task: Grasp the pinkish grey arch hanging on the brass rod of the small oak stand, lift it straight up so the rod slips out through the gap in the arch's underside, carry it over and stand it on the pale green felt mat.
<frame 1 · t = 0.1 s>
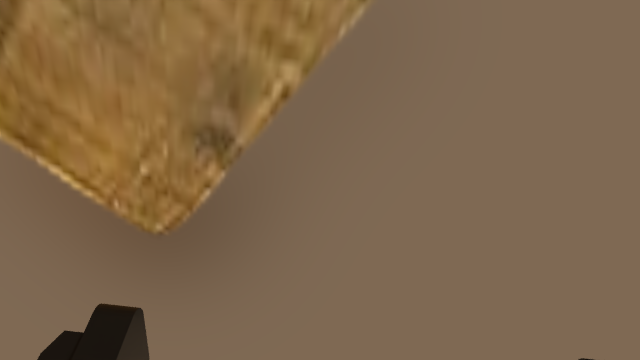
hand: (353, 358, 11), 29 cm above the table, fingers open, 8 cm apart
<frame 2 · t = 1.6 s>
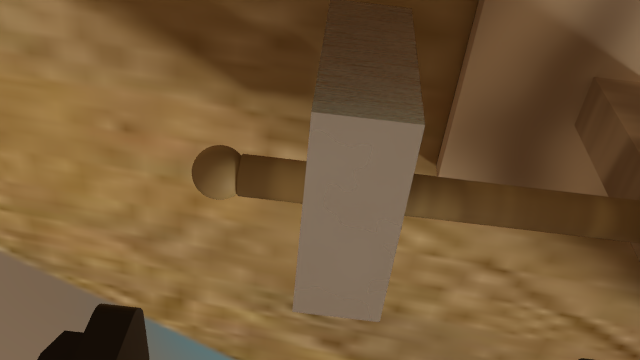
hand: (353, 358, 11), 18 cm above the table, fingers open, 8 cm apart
pinkish grey arch: (356, 98, 25), point 3 cm above the table, touching stand
stand: (358, 64, 27), on the table
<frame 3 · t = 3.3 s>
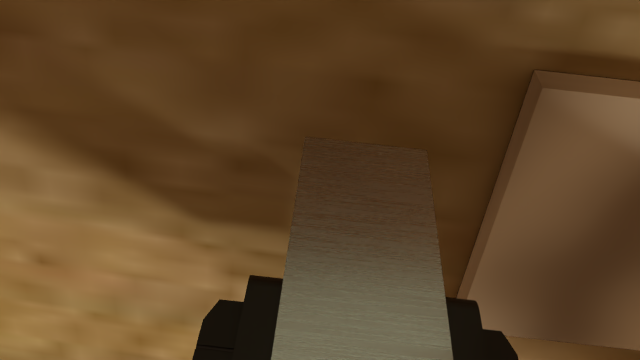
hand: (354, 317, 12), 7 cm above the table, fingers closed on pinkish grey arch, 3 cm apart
pinkish grey arch: (346, 258, 17), point 3 cm above the table, touching gripper, stand
stand: (349, 192, 20), on the table
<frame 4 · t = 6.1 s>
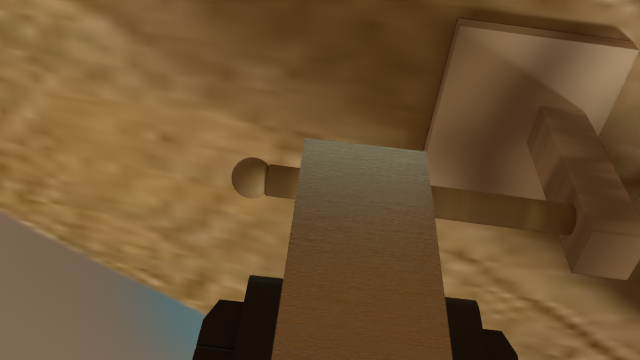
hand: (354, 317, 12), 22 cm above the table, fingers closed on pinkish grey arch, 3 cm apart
pinkish grey arch: (346, 259, 17), point 18 cm above the table, touching gripper
stand: (356, 92, 34), on the table
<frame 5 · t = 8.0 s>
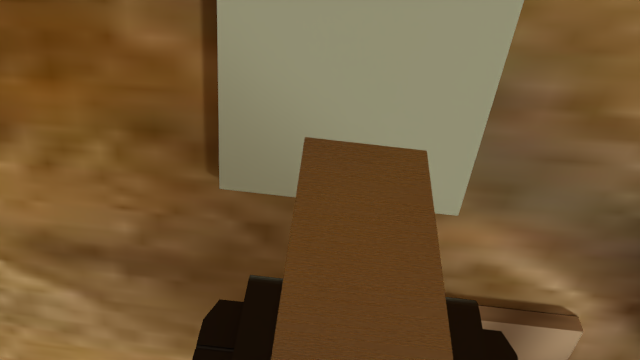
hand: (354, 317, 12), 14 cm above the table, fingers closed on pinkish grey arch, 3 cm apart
pinkish grey arch: (346, 258, 17), point 10 cm above the table, touching gripper
mat: (354, 90, 25), on the table
stand: (317, 346, 35), on the table
when the fingers open (6 cm above the table, at t = 9.4 s): pinkish grey arch drops 1 cm, resting on mat.
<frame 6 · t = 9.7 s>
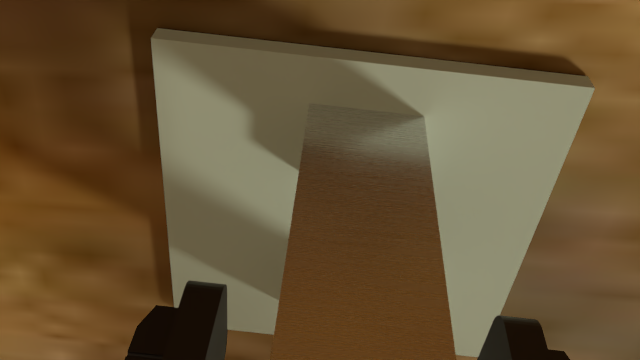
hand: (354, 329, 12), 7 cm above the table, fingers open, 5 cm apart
pinkish grey arch: (348, 223, 18), point 1 cm above the table, touching mat
mat: (347, 214, 19), on the table
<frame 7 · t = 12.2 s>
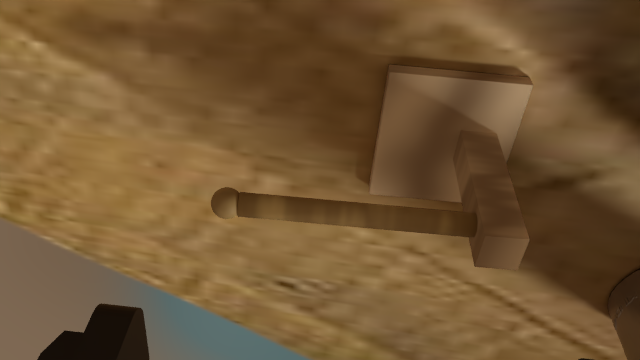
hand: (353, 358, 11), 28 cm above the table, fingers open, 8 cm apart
stand: (312, 123, 42), on the table
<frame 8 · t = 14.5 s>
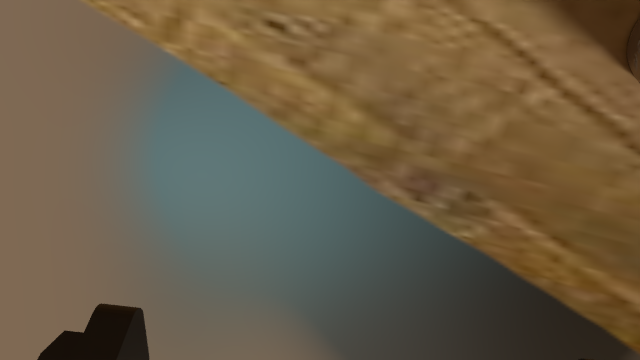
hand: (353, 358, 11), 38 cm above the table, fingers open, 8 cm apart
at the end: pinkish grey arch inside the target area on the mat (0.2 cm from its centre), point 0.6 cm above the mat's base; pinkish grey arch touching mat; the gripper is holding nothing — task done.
